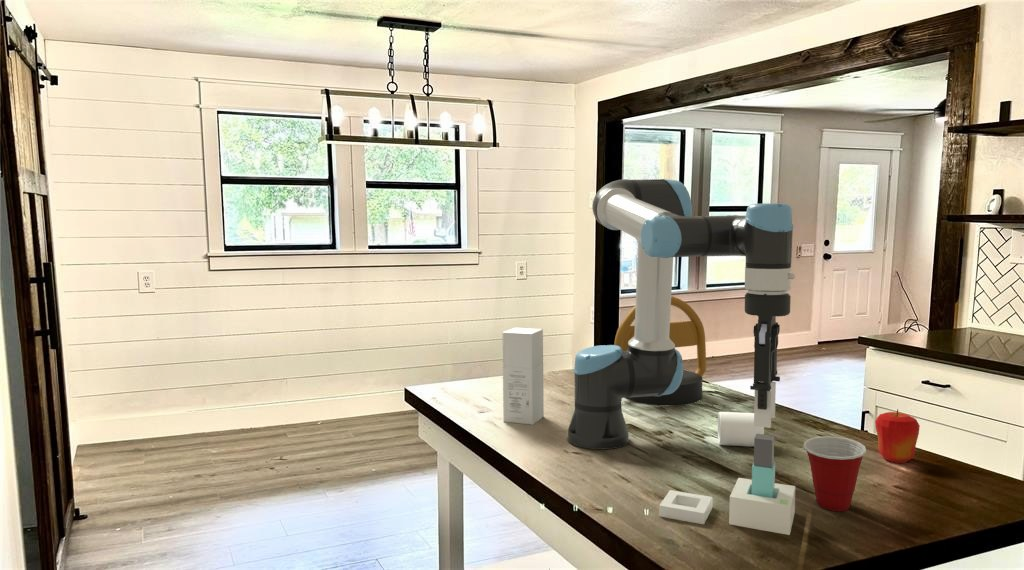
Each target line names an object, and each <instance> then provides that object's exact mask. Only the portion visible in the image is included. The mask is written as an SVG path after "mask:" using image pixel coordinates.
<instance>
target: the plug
mask: <svg viewBox="0 0 1024 570" xmlns="http://www.w3.org/2000/svg"><path fill="white" fill-rule="evenodd" d="M774 457H775V435H773V434H765V433H764V434H756V436H755V438H754V447H753V463H752V465H751V480H752V495H756V496H763V497H769V498H774V493H775V483H776V462H774V461H775V459H774Z"/></svg>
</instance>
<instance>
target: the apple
mask: <svg viewBox="0 0 1024 570" xmlns="http://www.w3.org/2000/svg"><path fill="white" fill-rule="evenodd" d="M874 423H875V431H876V436H877V440H878V441H877V443H878V444H877V446H878V447H877V448H878V452H879V453H880V455H881V456H882V458H883V459H884V460H885V461H889V462H891V463H894V464H897V463H898V464H904V463H906V462H907V463H908V461H910V460H911V459H913V458H914V457H915V452H916V446H917V442H918V439H919V434H920V427H921V426H920V424H919V422H918V420H917V419H916V418H915V417H913V416H911V415H908V414H905V413H902V412H899V408H897V409H896V411H887V412H883V413H880V414H879V415H878V416H877V418H875V422H874Z"/></svg>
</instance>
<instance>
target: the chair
mask: <svg viewBox="0 0 1024 570" xmlns="http://www.w3.org/2000/svg"><path fill="white" fill-rule="evenodd" d="M671 306H672V307H673V306H674V307H676V308H678V309H680V310H681V311H682V312H683V313H684V314H685V315H686V316H687V318H688V319H689V320H687V321H684V320H683V321H672V322H671V321H670V331H669V338H670V340H671V341H672V342H673V343H674V344H675V349H676V348H684V347H685V348H686V347H694V346H696V354H697V355H696V356H697V357H696V360H697V367H696V370H695V372H693V371H689V370H685V369H683V376H682V380H681V383H680V385H679V387H678V389H677V390H675V392H673V393H672V394H668V395H661V396H643V397H629V398H625V399H626V400H627V401H631V402H634V403H638V404H643V405H650V406H651V405H652V406H661V405H676V406H686V404H687V405H691V403H692V404H695V402H696V403H697V401H698V402H700V401H701V400H702V399H703V376H704V375H705V373H706V371H707V352H706V351H707V349H706V347H707V345H706V333H705V328H704V325H703V321H702V320H701V318H700V317H699V315H698V314H697V313H696V311H695V310H694V309H693V308H692V306H691V305H689V304H688V303H687V302H685V301H684V300H682V299H681V298H679V297H675V296H672V295H671ZM635 308H636V305H634V306H633V307H632V308H631V309H630V310H629V312H627V314H626V315H625V317H624V319H623V320H622V322H621V323H620V324H619V326H618V328H617V330H616V334H615V338H614V344H613V345H616V346H619V347H621V349H622V351H627V350H628V341H629V340H630V339H631V338H633V337H634V332H635V325H632V323H634V322H635ZM699 400H700V401H699Z"/></svg>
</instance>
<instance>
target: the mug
mask: <svg viewBox="0 0 1024 570" xmlns="http://www.w3.org/2000/svg"><path fill="white" fill-rule="evenodd" d="M756 434H764V435H765V427H758V426H754V412H737V411H735V412H734V411H718V413H717V441H718V445H720V446H732V447H733V446H734V447H753V448H754V438H755V436H756Z"/></svg>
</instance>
